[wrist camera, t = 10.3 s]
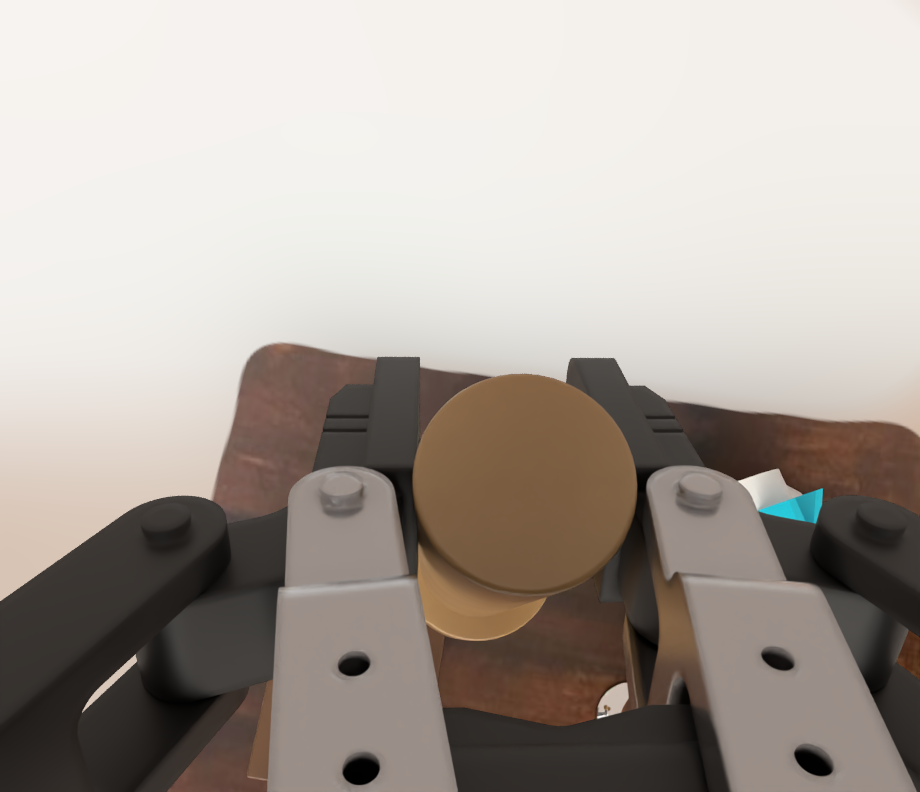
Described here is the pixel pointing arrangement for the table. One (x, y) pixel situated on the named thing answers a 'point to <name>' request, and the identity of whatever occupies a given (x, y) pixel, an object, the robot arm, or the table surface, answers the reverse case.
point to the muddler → (516, 502)
